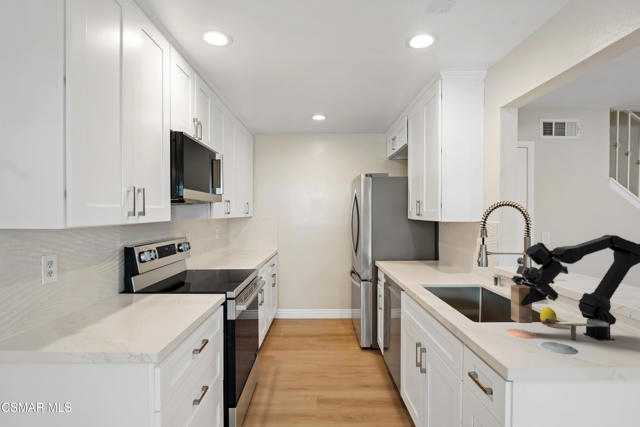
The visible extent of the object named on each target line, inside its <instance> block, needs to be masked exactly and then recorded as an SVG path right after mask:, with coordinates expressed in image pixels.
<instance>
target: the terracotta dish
mask: <svg viewBox="0 0 640 427" xmlns="http://www.w3.org/2000/svg"><path fill="white" fill-rule="evenodd" d="M505 333H506V334H507V335H509V336H511V337H515V338H519V339H525V340H526V339H527V340H534V339H537V338H538V335H537V334H535V333H534V332H532V331H528V330H524V329H517V328H509V329H506V330H505Z"/></svg>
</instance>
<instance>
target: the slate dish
mask: <svg viewBox="0 0 640 427" xmlns="http://www.w3.org/2000/svg"><path fill="white" fill-rule="evenodd" d="M540 346H541V347H542V348H543V349H545V350H547V351H550V352H554V353H557V354H561V355H562V354H563V355H577V354H579V350H578V349H576V347H573V346H571V345H568V344H563V343H561V342H553V341H551V342H550V341H543V342H541V343H540Z"/></svg>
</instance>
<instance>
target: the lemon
mask: <svg viewBox="0 0 640 427" xmlns="http://www.w3.org/2000/svg"><path fill="white" fill-rule="evenodd" d="M539 318H540V321H541V320H545V319H547V318H548V319H554V320H555V322H557V314H556V312H555V310H554V309H553V308H551V307H550V306H547V307H544V308H542V309H541V310H540V313H539ZM547 327H548V328H549V327H550V326H547Z"/></svg>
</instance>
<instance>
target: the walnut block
mask: <svg viewBox="0 0 640 427" xmlns="http://www.w3.org/2000/svg"><path fill="white" fill-rule="evenodd" d="M529 292H530V287H528V286H525V285H516V284H511V285H510V318H511V320H512V321H514V322H516V323H518V324H533V303H531V304H528V305H525V306H522V305H521V303H522V301H523V300H524V299H525V297H526V296H527V295H528V294H529Z"/></svg>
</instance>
